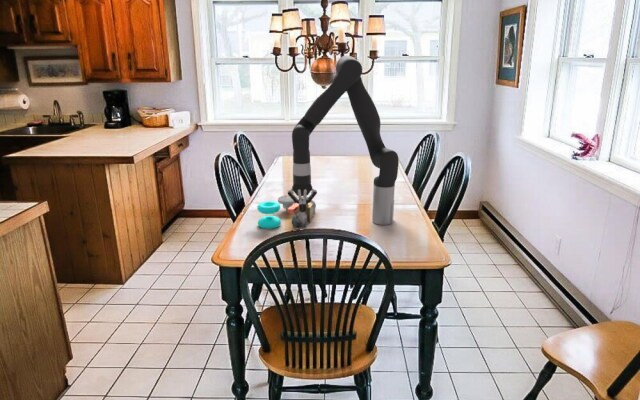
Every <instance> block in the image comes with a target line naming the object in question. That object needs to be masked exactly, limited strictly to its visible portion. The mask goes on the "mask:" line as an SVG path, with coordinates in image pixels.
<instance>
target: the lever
mask: <svg viewBox="0 0 640 400" xmlns="http://www.w3.org/2000/svg"><path fill="white" fill-rule="evenodd" d="M301 197H302V205H303V196H301ZM308 198H309V196H306V199H308ZM306 204H309V203H306ZM297 210H299V204H298V203H294V204H293V205H292V206H291V207H289V208H288V212H287V214H292V215H293V214H294V215H295V212H296V211H297Z"/></svg>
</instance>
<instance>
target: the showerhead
mask: <svg viewBox="0 0 640 400" xmlns="http://www.w3.org/2000/svg"><path fill="white" fill-rule="evenodd" d="M295 197H296V198H297V199H298V200H299V197H298V196H295ZM277 203H279V204H280V205H282V207H283V209H285V212H286V213H288V208H289V207H291V206H292V205H293V204H295V202H294V201H293V199H292V198H291V197H290V196H289V195H288V194H286V195H280V196H278V198H277Z"/></svg>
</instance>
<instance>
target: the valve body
mask: <svg viewBox="0 0 640 400" xmlns="http://www.w3.org/2000/svg"><path fill="white" fill-rule="evenodd" d="M316 207H317V205H316V202H315V201H314V200H313V199H312V200H311V201H310V203H309V204H306V211H304V212H301V211H300V210H297V211H296V212H295V213H294V215H293V217H292V218H291V225H292V227H294V228H295V229H301V228H307V227H308V223H309V224H311V222H312V220H313V219H314V217H315V214H316ZM302 208H303V205H302Z"/></svg>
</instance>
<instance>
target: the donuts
mask: <svg viewBox="0 0 640 400" xmlns="http://www.w3.org/2000/svg"><path fill="white" fill-rule="evenodd" d="M256 208H257V211H258V212H259V213H260V214H263V215H264V216H262V217H260V218H259V219H258V221H257V225H258V227H260V228H262V229H265V230H267V229H269V230H271V229H276V228H278V227H280V226H281V223H282V221H281V218H279V217H278V216H275V215H273V214H275V213H278V212H279V211H280V209H281V204H280V203H279V202H278V201H271V200H270V201H267V200H266V201H262V202H260V203H258V205H257V207H256Z"/></svg>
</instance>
